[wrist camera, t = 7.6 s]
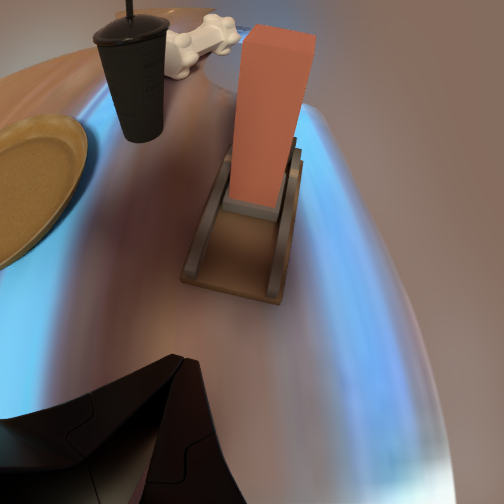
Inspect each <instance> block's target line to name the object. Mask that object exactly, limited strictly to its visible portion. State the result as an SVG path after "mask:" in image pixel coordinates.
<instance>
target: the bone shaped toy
mask: <svg viewBox="0 0 504 504" xmlns="http://www.w3.org/2000/svg"><path fill="white" fill-rule="evenodd" d="M203 21H204V22H203V23H202V25H201V26H199V27H198V28H197V29H196V30H194V31H191V32H189V33H181V34H178V33H174V32H173V31H171V30H167V36H166V50H165V68H164V75H166V76H169V77H171V78H173V79H175V80H181V79H183V78H185V77H187V76H188V75H189V73H190V70H189V68H190V67H191V66H193V65H194V64H195V63H196V62H197V61H198V59H199V57H200V56H202V55H204V54H206V53H208V52H213V53H216V54H217V55H219V56H225V55H227V54H229V53H230V52H231V48H230V47H231V46H232V45H235V44H236V43H238V42H239V41H240V39H241V36H240V35H239V34H237V30H236V27H235V21H234V19H233V18H231V17H225V18H222V17H219V16H218V15H217V14H208V15H206V16H205V17H204V18H203Z"/></svg>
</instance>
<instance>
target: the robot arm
mask: <svg viewBox="0 0 504 504" xmlns="http://www.w3.org/2000/svg"><path fill="white" fill-rule="evenodd" d="M151 457H152V458H151ZM150 459H151V462H150V466H149V470H148V474H147V478H146V484H145V487H144V491H143V494H142V497H141V500H140V502H139V504H247V502H246V501H245V499H244V497H243V495H242V493H241V491H240V490H239V488H238V486H237V484H236V482H235V480H234V478H233V476H232V474H231V472H230V470H229V468H228V465H227V463H226V461H225V459H224V456H223V453H222V450H221V447H220V444H219V440H218V437H217V434H216V430H215V426H214V422H213V418H212V414H211V410H210V406H209V402H208V398H207V394H206V390H205V386H204V381H203V377H202V373H201V368H200V364H199V361H197V360H194V359H190V358H185V359H184V357H182V356H179V355H175V354H170V355H168V356H166V357H164V358H162V359H160V360H158V361H155V362H153V363H151V364H149V365H147V366H145V367H143V368H141V369H139V370H137V371H135V372H133V373H131V374H129V375H126V376H124V377H122V378H120V379H118V380H116V381H114V382H111V383H109V384H107V385H105V386H103V387H101V388H98V389H96V390H94V391H92V392H91V394H90V393H87V394H85V395H83V396H80V397H78V398H75V399H73V400H70V401H68V402H65V403H63V404H59V405H56V406H53V407H50V408H47V409H43V410H40V411H36V412H33V413H29V414H25V415H21V416H17V417H13V418H8V419H0V504H128V502H129V500H130V498H131V496H132V494H133V492H134V490H135V488H136V486H137V484H138V482H139V480H140V478H141V476H142V474H143V472H144V470H145V469H146V467H147V465H148V463H149V461H150Z"/></svg>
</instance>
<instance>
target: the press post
mask: <svg viewBox="0 0 504 504" xmlns="http://www.w3.org/2000/svg"><path fill="white" fill-rule="evenodd" d="M315 42H316V36H315V35H310V34H306V33H302V32H297V31H292V30H288V29H282V28H277V27H271V26H265V25H259V24H256V25H255V26H254V28H253V29H252V30H251V31H250V33H249V34H248V35H247V36H246V38H245V39H244V40H243V45H242V54H241V64H240V74H239V84H238V94H237V105H236V116H235V127H234V138H233V150H232V163H231V175H230V182H229V185H228V188H227V191H226V193H225V196H224V199H223V207H222V210H225V211H229V212H234V213H238V214H243V215H247V216H252V217H256V218H260V219H265V220H269V221H274V222H276V221H277V218H278V214H279V210H280V204H281V199H282V194H283V189H284V183H285V178H286V173H284V172H285V168H286V164H287V160H288V156H289V152H290V148H291V144H292V140H293V137H294V133H295V129H296V125H297V121H298V117H299V113H300V109H301V105H302V101H303V97H304V93H305V89H306V85H307V81H308V77H309V73H310V69H311V65H312V61H313V57H314V51H315Z"/></svg>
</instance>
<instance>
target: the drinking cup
mask: <svg viewBox="0 0 504 504" xmlns="http://www.w3.org/2000/svg"><path fill="white" fill-rule="evenodd" d="M125 1H126V16H125V17H122V18H119V19H117V20H115V21H113V22H111V23H109V24H108V25H106V26H105V27H104V28H102V29H100V30H99V31H97V32H96V33H95V34H94V36H93V42H94V43H95V44H96V45H97V47H98V51H99V55H100V58H101V62H102V66H103V69H104V73H105V76H106V80H107V83H108V86H109V90H110V93H111V96H112V100H113V103H114V106H115V109H116V112H117V115H118V118H119V121H120V125H121V128H122V131H123V134H124V136H125V138H126V139H127V140H128V141H130V142H133V143H144V142H148V141H151V140H153V139H155V138H156V137H158V136H159V135H160V134H161V132H162V130H163V95H164V68H165V50H166V36H167V30H168V29H169V27H170V22H169V20H167V19H165V18H161V17H156V16H153V15H147V14H136V15H133V0H125Z"/></svg>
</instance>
